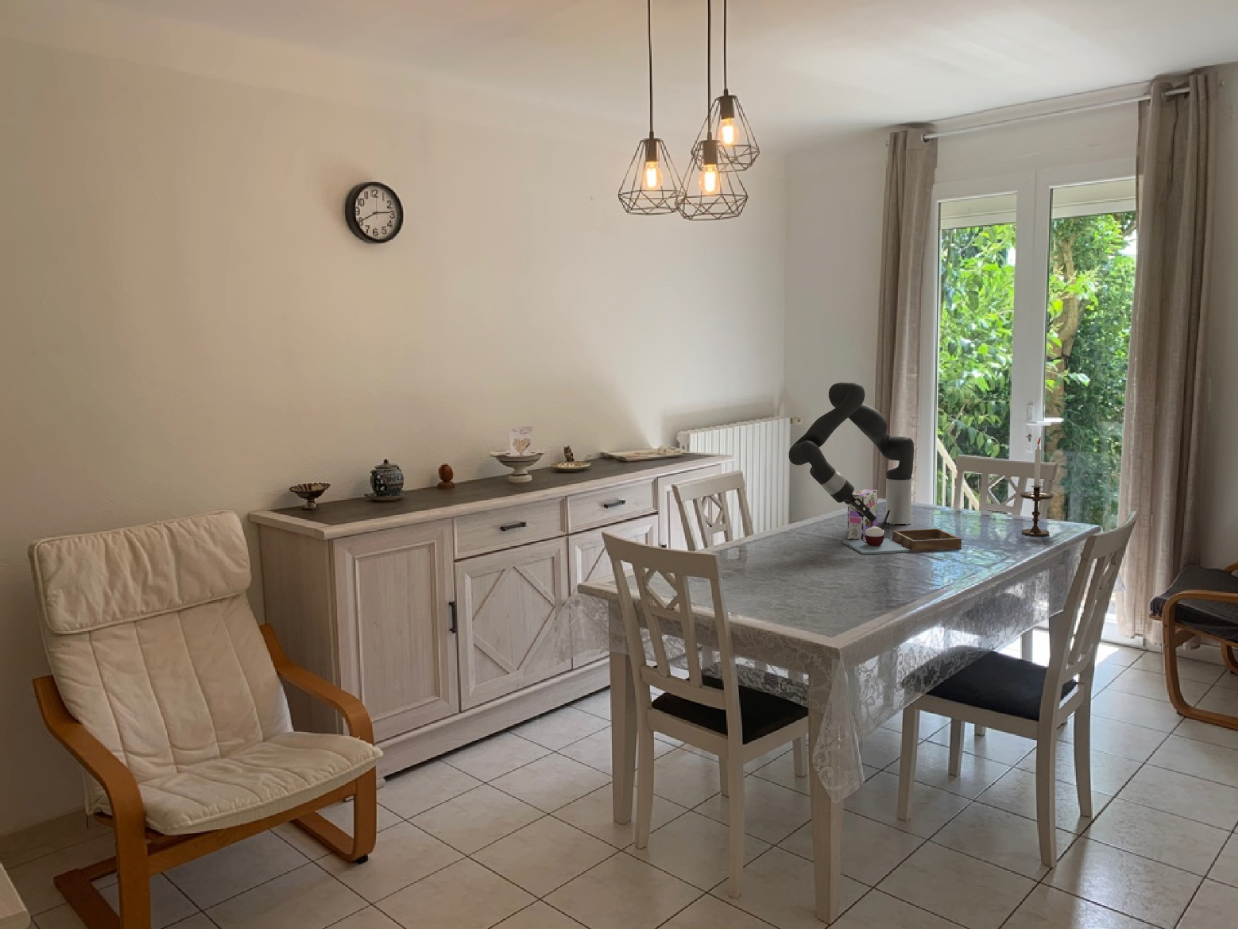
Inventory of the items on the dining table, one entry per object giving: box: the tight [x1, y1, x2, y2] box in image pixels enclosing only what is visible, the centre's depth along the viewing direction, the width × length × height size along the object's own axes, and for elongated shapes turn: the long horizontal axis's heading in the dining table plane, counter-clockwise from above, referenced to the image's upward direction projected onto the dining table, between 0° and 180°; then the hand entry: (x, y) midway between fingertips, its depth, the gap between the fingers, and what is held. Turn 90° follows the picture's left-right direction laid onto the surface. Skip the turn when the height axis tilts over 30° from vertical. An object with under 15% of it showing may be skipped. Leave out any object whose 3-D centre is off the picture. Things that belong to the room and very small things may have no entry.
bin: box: [891, 527, 963, 552], centre depth 318 cm, size 17×17×4 cm
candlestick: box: [1019, 436, 1054, 537], centre depth 328 cm, size 11×11×35 cm
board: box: [843, 537, 910, 556], centre depth 317 cm, size 18×16×1 cm
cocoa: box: [861, 510, 890, 546], centre depth 316 cm, size 10×6×12 cm, turn 62°
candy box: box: [847, 488, 878, 540], centre depth 332 cm, size 14×6×16 cm, turn 143°
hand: (869, 517), depth 315 cm, fingers open, 8 cm apart
